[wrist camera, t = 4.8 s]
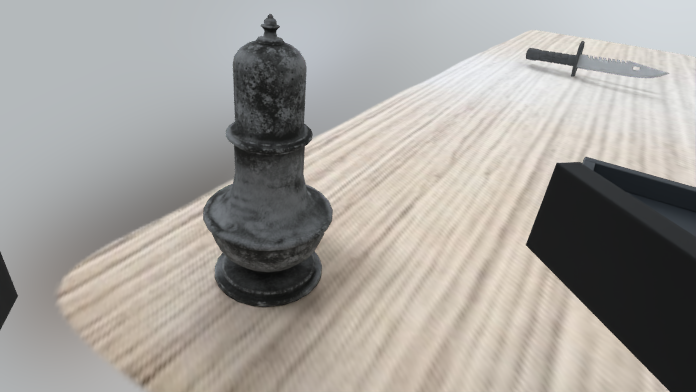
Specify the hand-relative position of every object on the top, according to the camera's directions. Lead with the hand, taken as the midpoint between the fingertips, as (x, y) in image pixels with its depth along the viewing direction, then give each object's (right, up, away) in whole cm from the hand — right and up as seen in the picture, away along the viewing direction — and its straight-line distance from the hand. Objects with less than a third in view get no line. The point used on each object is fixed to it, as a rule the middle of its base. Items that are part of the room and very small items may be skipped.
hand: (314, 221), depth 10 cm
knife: (+37, +18, +54) cm, 68 cm away
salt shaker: (-3, -3, +12) cm, 12 cm away
